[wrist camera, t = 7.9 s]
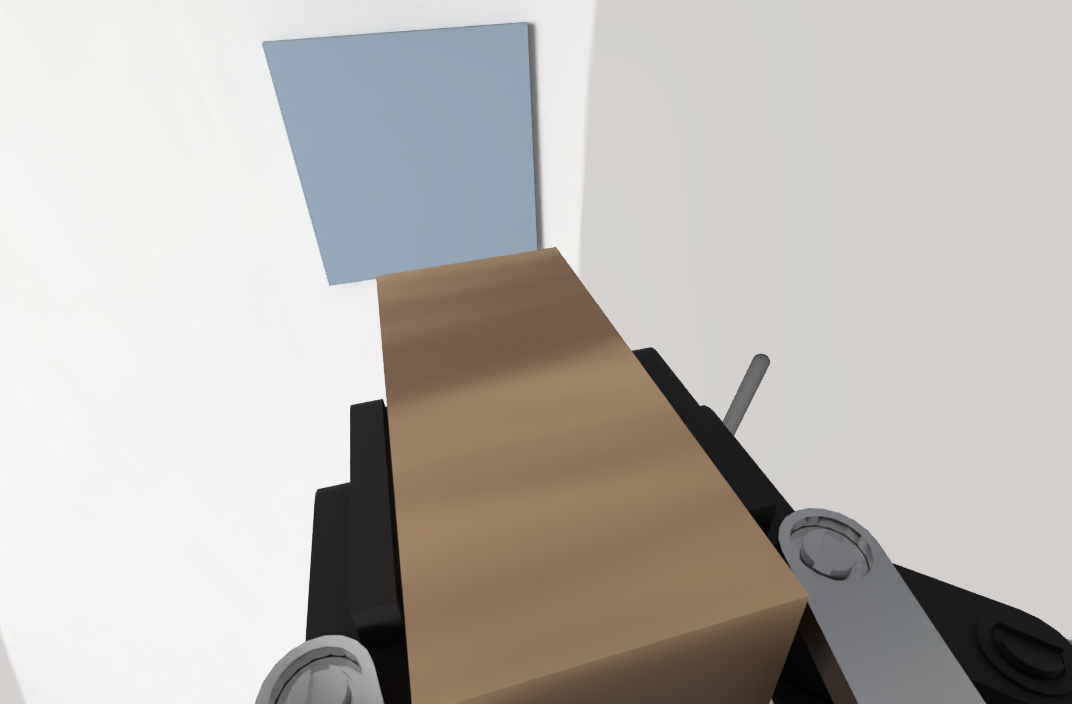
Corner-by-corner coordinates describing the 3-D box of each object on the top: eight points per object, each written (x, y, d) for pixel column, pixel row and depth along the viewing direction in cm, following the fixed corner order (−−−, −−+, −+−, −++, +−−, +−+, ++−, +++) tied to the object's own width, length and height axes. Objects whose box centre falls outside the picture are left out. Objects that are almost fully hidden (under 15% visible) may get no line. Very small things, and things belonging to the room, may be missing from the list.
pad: (263, 41, 21) (261, 42, 21) (525, 22, 23) (527, 23, 23) (329, 281, 27) (329, 285, 27) (535, 250, 29) (537, 253, 29)
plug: (376, 276, 12) (413, 715, 5) (555, 247, 13) (809, 596, 6) (409, 418, 15) (467, 861, 7) (560, 386, 15) (747, 761, 8)
